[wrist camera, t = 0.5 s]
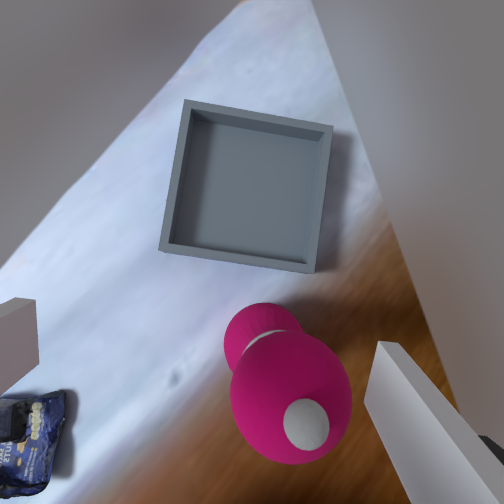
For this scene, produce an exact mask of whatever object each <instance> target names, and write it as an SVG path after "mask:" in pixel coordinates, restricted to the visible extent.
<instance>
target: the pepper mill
mask: <svg viewBox="0 0 504 504" xmlns="http://www.w3.org/2000/svg"><path fill="white" fill-rule="evenodd" d="M224 352H225V356H226V360H227V363H228V365H229V367H230V369H231V370H232V372H233V377H232V381H231V387H230V398H231V407H232V412H233V415H234V418H235V421H236V424H237V426H238V428H239V430H240V432H241V434H242V435H243V437H244V438H245V439H246V441H247V442H248V443H249V445H251V446H252V447H253V448H254V449H255V450H256V451H257V452H258V453H260V454H261V455H263V456H265V457H266V458H268V459H270V460H272V461H275V462H279V463H284V464H303V463H309V462H312V461H314V460H317V459H320V458H321V457H323V456H324V455H326V454H327V453H329V452H330V451H331V450H332V449H333V448H334V447H335V446H336V445H337V444H338V443H339V441H340V440H341V438H342V437H343V436H344V433H345V431H346V429H347V427H348V424H349V421H350V417H351V410H352V394H351V388H350V383H349V379H348V376H347V374H346V372H345V369H344V367H343V365H342V363H341V362H340V360H339V358H338V357H337V356H336V355H335V354H334V352H333V351H332V350H331V349H330V348H329V347H328V346H326V345H325V344H324V343H323V342H322V341H320V340H318V339H317V338H315V337H313V336H310V335H308V334H305V333H303V330H302V328H301V325H300V324H299V322H298V321H297V319H296V318H295V317H294V316H293V315H292V314H291V313H290V312H289V311H288V310H286V309H284V308H283V307H281V306H278V305H276V304H272V303H257V304H253V305H250V306H248V307H246V308H244V309H242V310H241V311H240V312H238V313H237V314H236V315H235V316H234V317H233V319H232V320H231V321H230V323H229V325H228V327H227V330H226V333H225V337H224Z"/></svg>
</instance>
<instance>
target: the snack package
mask: <svg viewBox="0 0 504 504" xmlns="http://www.w3.org/2000/svg"><path fill="white" fill-rule="evenodd" d="M65 415H66V412H65V392H64V391H54V392H50V393H47V394H45V395H42V396H40V397H39V398H37V399H33V398H28V399H25V400H17V399H2V398H0V498H2V499H9V498H11V497H19V496H32V495H35V494H38V493H40V492H42V491H43V490H44V489H45V488H46V487H47V485H48V483H49V481H50V476H51V470H52V462H53V458H54V453H55V449H56V446H57V443H58V439H59V436H60V433H61V431H62V428H63V426H64V422H65V420H64V421H63V422H62V424H61V425H60V427H59V433H58V436H57V428H58V426H59V424H60V422H61V421H62V418H63V417H64V418H65Z"/></svg>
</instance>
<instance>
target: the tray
mask: <svg viewBox="0 0 504 504" xmlns="http://www.w3.org/2000/svg"><path fill="white" fill-rule="evenodd" d="M332 133H333V126H331V125H325V124H319V123H314V122H308V121H303V120H297V119H292V118H286V117H281V116H275V115H270V114H264V113H259V112H253V111H248V110H242V109H237V108H231V107H226V106H220V105H214V104H209V103H203V102H198V101H192V100H187V99H184V104H183V110H182V116H181V122H180V127H179V133H178V139H177V145H176V150H175V156H174V162H173V168H172V173H171V179H170V185H169V191H168V196H167V202H166V208H165V214H164V219H163V225H162V231H161V237H160V242H159V248H158V250H159V251H162V252H165V253H172V254H179V255H185V256H192V257H199V258H205V259H212V260H219V261H225V262H232V263H238V264H245V265H252V266H258V267H265V268H272V269H278V270H285V271H292V272H298V273H305V274H314V271H315V263H316V256H317V248H318V240H319V233H320V225H321V217H322V210H323V202H324V194H325V187H326V179H327V171H328V164H329V156H330V148H331V141H332Z"/></svg>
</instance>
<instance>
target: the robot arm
mask: <svg viewBox="0 0 504 504" xmlns="http://www.w3.org/2000/svg"><path fill="white" fill-rule="evenodd" d="M38 364H39V350H38V334H37V318H36V301H35V300H32V299H24V298H16V297H15V298H13V299H11V300H9V301H7V302H5V303H3V304H1V305H0V396H1V395H2V394H3V393H4V392H5V391H7V390H8V389H9V388H10V387H12V386H13V385H14V384H15V383H16V382H18V381H19V380H20V379H21V378H22V377H24V376H25V375H26V374H27V373H28V372H30V371H31V370H32V369H33V368H34V367H36V366H37V365H38ZM364 404H365V406H366V408H367V410H368V412H369V415H370V417H371V419H372V421H373V423H374V425H375V427H376V429H377V432H378V434H379V436H380V438H381V440H382V442H383V444H384V446H385V449H386V451H387V453H388V455H389V457H390V459H391V461H392V463H393V466H394V468H395V470H396V472H397V474H398V476H399V478H400V480H401V483H402V485H403V487H404V489H405V491H406V493H407V495H408V498H409V500H410V502H411V504H504V449H502V448H501V447H500V446H499V445H497V444H496V443H495V442H493V441H492V440H491V439H490V438H488V437H487V436H480V435H477V434H476V433H475V432H474V431H473V430H472V428H471V427H470V426H469V425H468V424H467V423H466V421H465V420H464V419H463V418H462V417H461V416H460V414H459V413H458V412H457V411H456V410H455V409H454V407H453V406H452V405H451V404H450V403H449V402H448V400H447V399H446V398H445V397H444V396H443V395H442V393H441V392H440V391H439V390H438V389H437V388H436V386H435V385H434V384H433V383H432V382H431V381H430V379H429V378H428V377H427V376H426V375H425V374H424V372H423V371H422V370H421V369H420V368H419V367H418V365H417V364H416V363H415V362H414V361H413V360H412V358H411V357H410V356H409V355H408V354H407V353H406V351H405V350H404V349H403V348H402V347H401V346H400V344H399V343H393V342H385V341H378V345H377V349H376V353H375V357H374V361H373V365H372V370H371V374H370V378H369V382H368V386H367V390H366V394H365V398H364Z"/></svg>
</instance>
